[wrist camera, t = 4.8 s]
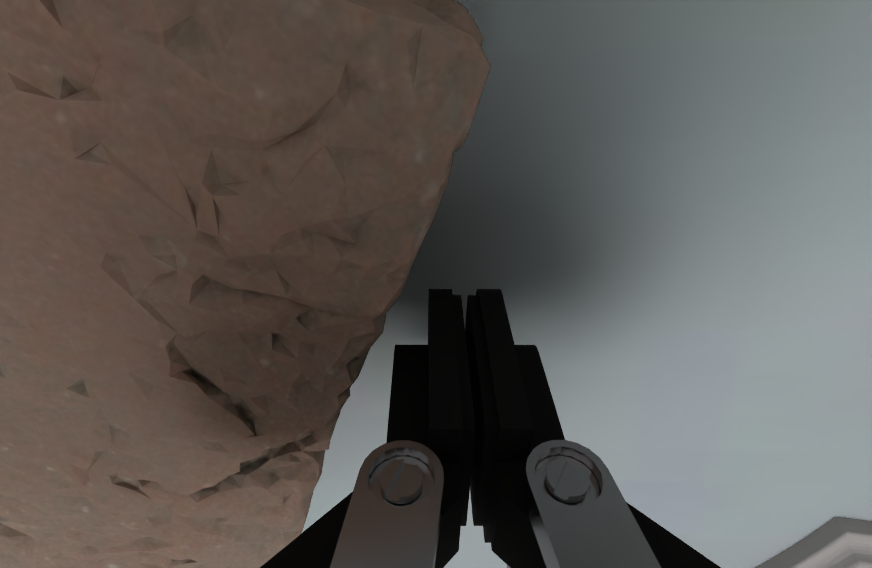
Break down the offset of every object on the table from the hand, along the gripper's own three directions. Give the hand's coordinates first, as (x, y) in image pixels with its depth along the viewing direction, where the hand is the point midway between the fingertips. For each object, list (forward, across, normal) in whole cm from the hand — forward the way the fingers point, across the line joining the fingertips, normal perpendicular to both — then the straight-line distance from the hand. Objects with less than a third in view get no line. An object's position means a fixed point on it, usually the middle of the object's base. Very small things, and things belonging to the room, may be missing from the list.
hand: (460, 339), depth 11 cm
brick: (+2, +6, 0) cm, 7 cm away
